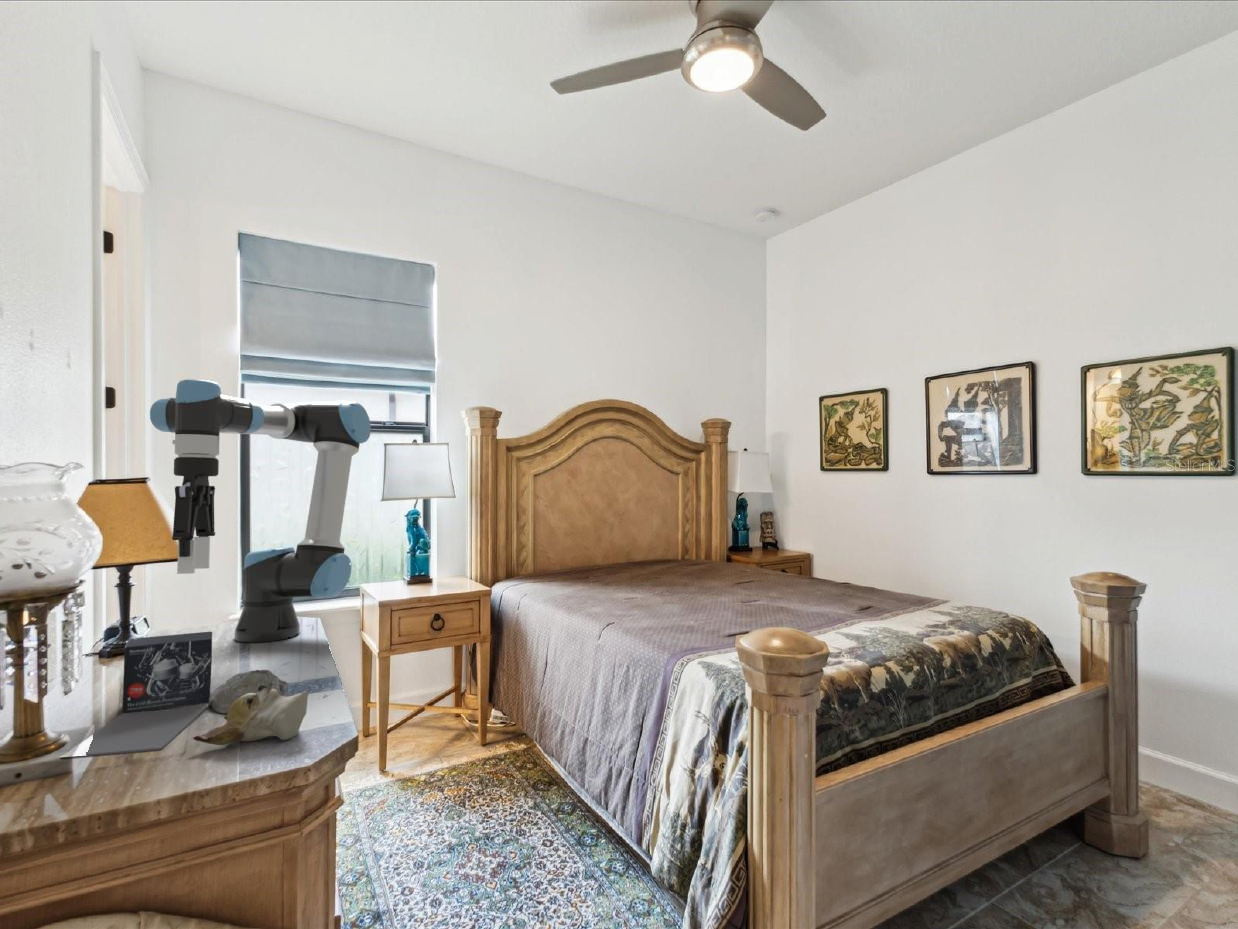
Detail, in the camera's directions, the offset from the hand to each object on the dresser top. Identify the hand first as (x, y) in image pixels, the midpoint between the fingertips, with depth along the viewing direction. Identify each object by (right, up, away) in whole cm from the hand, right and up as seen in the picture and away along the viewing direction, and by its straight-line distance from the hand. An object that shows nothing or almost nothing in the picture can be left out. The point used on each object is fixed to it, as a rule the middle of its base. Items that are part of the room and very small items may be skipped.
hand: (193, 570), depth 126 cm
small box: (+2, -23, -10) cm, 25 cm away
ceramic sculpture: (+28, -23, -26) cm, 44 cm away
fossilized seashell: (+17, -23, -10) cm, 31 cm away
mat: (+7, -22, -24) cm, 33 cm away
